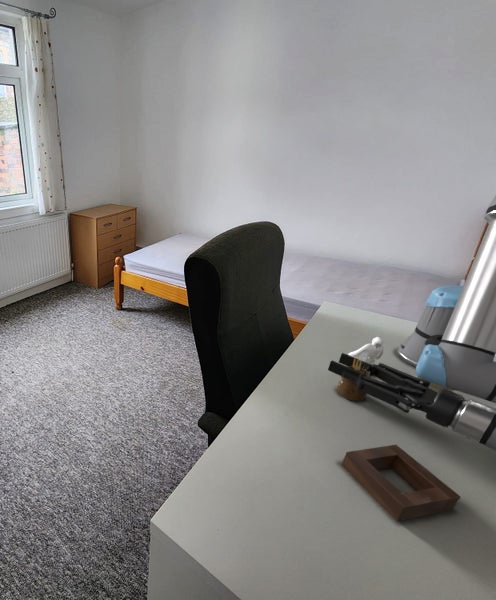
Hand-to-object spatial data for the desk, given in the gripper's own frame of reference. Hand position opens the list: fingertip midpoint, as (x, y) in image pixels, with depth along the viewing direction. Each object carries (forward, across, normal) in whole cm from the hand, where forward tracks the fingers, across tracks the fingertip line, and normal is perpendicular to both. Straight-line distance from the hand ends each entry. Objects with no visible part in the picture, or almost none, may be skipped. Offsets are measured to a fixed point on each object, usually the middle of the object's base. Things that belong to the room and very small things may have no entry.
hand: (335, 361), depth 88 cm
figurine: (-2, +15, -7) cm, 17 cm away
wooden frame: (-21, -23, -7) cm, 32 cm away
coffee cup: (-17, +18, -7) cm, 25 cm away
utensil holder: (-5, 0, -7) cm, 9 cm away
